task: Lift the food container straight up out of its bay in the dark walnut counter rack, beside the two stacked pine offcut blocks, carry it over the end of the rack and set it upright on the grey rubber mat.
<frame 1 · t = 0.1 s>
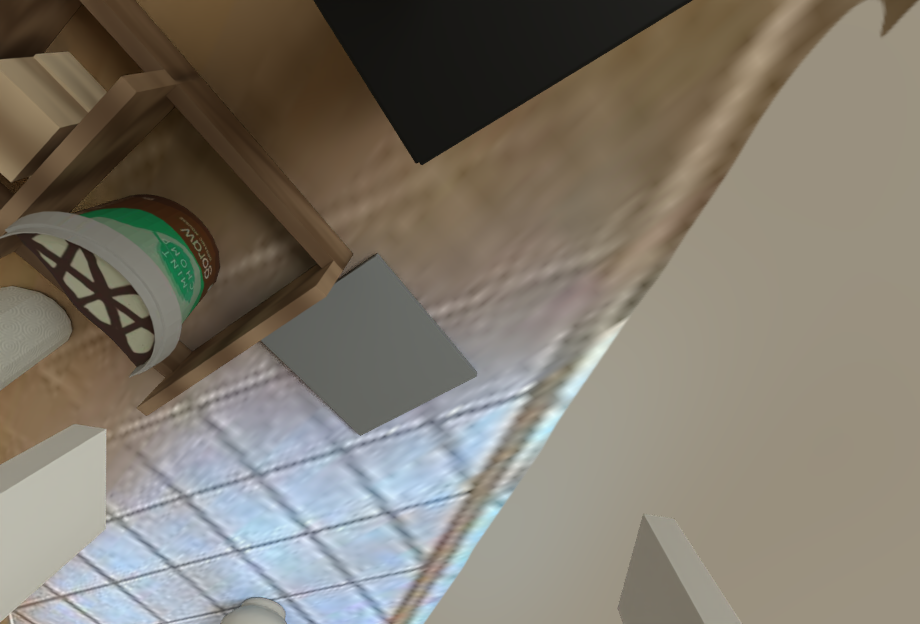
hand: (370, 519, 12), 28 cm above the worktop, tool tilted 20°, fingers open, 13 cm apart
mat: (368, 352, 44), on the worktop
offcut upper: (40, 116, 33), point 3 cm above the worktop, touching offcut lower
flower vase: (259, 607, 69), on the worktop
food container: (191, 236, 40), resting in rack
offcut lower: (69, 115, 36), resting in rack, touching offcut upper
rack: (154, 203, 38), on the worktop
paper towel roll: (37, 309, 45), on the worktop
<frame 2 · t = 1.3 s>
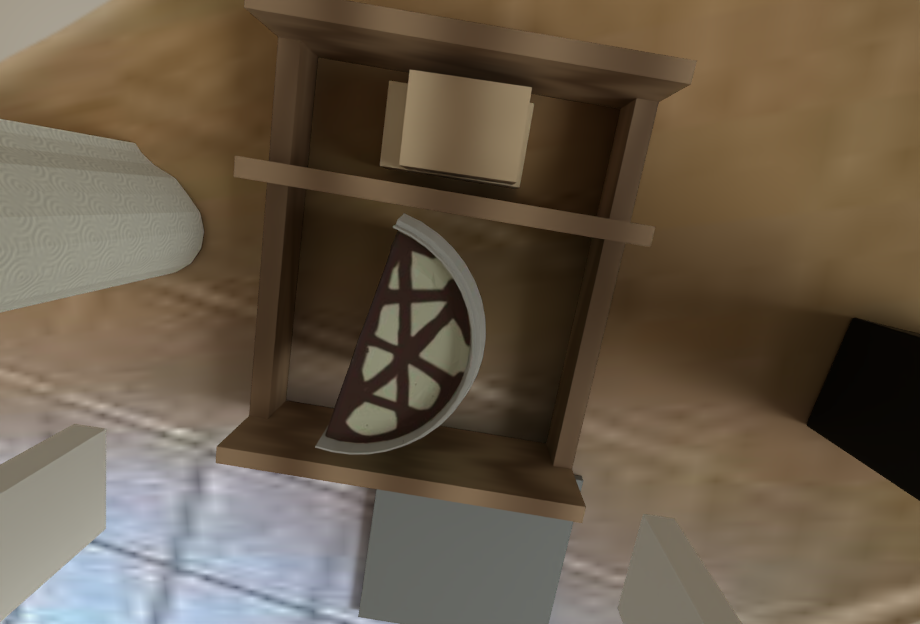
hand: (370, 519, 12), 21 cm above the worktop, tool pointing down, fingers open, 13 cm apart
mat: (466, 545, 36), on the worktop
offcut upper: (465, 135, 27), point 3 cm above the worktop, touching offcut lower
black bar: (880, 384, 33), on the worktop
food container: (433, 316, 33), resting in rack
offcut lower: (457, 141, 30), resting in rack, touching offcut upper
rack: (441, 265, 32), on the worktop
paper towel roll: (165, 218, 32), on the worktop
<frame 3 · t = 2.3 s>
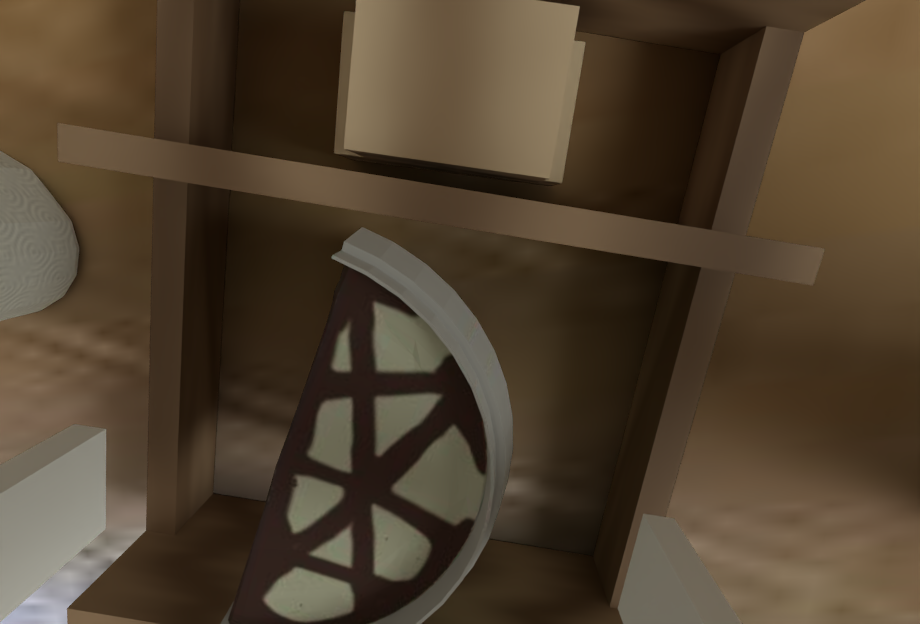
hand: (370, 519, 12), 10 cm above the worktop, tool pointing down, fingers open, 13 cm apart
offcut upper: (460, 101, 17), point 3 cm above the worktop
food container: (426, 374, 22), resting in rack
offcut lower: (459, 115, 20), resting in rack
rack: (437, 299, 21), on the worktop
paper towel roll: (23, 230, 21), on the worktop
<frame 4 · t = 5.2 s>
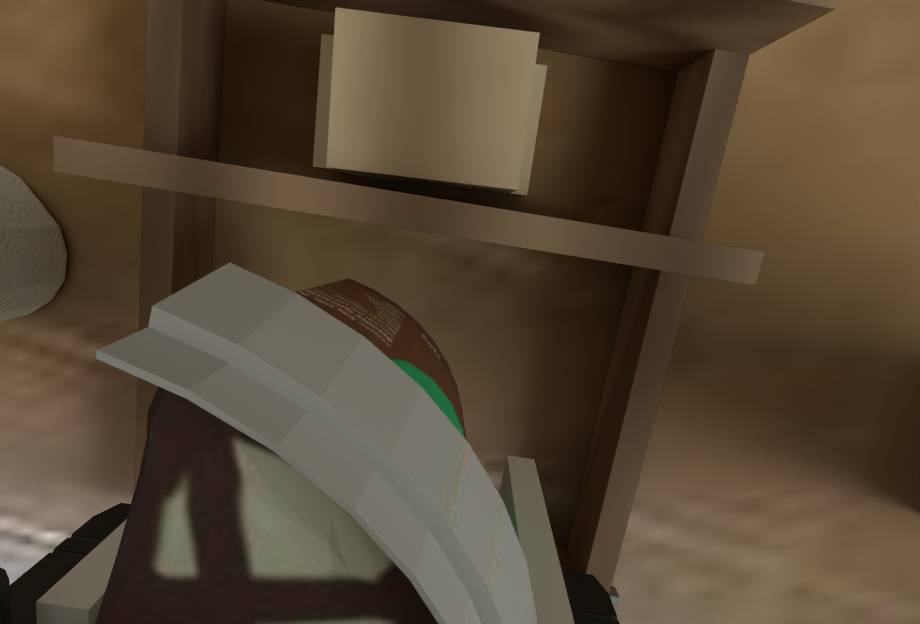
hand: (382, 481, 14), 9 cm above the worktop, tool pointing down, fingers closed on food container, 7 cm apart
offcut upper: (435, 119, 18), point 3 cm above the worktop, touching offcut lower
food container: (397, 450, 15), point 7 cm above the worktop, touching gripper
offcut lower: (432, 129, 21), resting in rack, touching offcut upper
rack: (416, 301, 22), on the worktop
paper towel roll: (11, 236, 22), on the worktop
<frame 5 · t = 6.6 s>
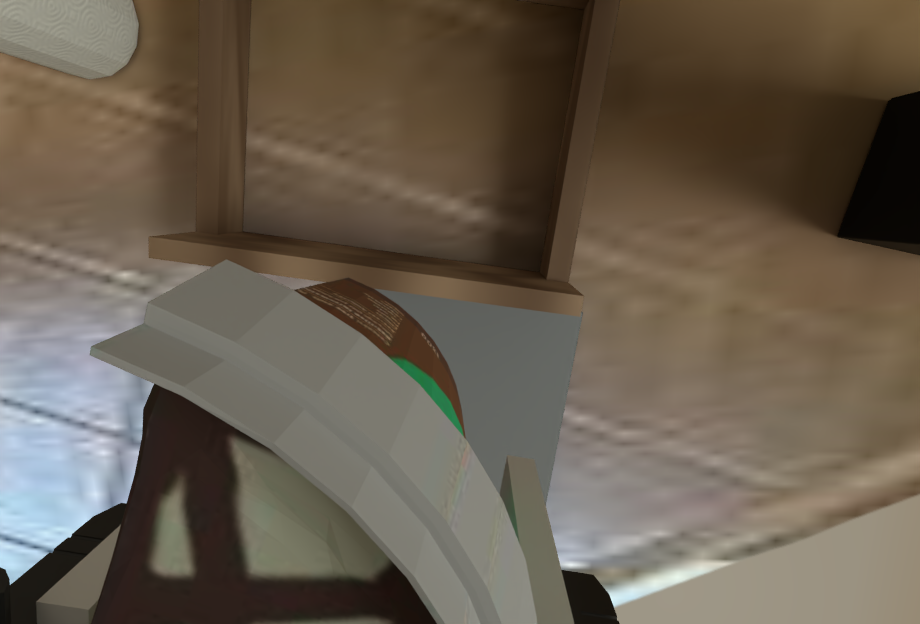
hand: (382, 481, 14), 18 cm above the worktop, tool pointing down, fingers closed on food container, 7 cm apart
mat: (453, 400, 32), on the worktop
food container: (396, 449, 15), point 16 cm above the worktop, touching gripper
rack: (411, 56, 27), on the worktop
paper towel roll: (94, 14, 28), on the worktop
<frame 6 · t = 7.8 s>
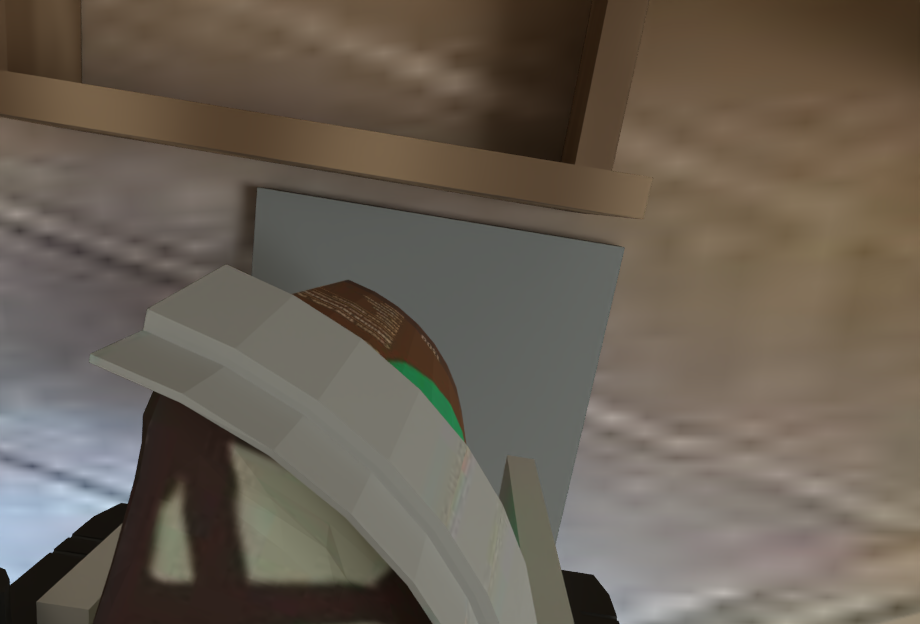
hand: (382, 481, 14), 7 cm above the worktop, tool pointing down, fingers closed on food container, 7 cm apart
mat: (417, 384, 21), on the worktop
food container: (396, 451, 15), point 5 cm above the worktop, touching gripper
when the fingers open (2 cm above the worktop, at t = 9.4 s): food container stays where it is, resting on mat.
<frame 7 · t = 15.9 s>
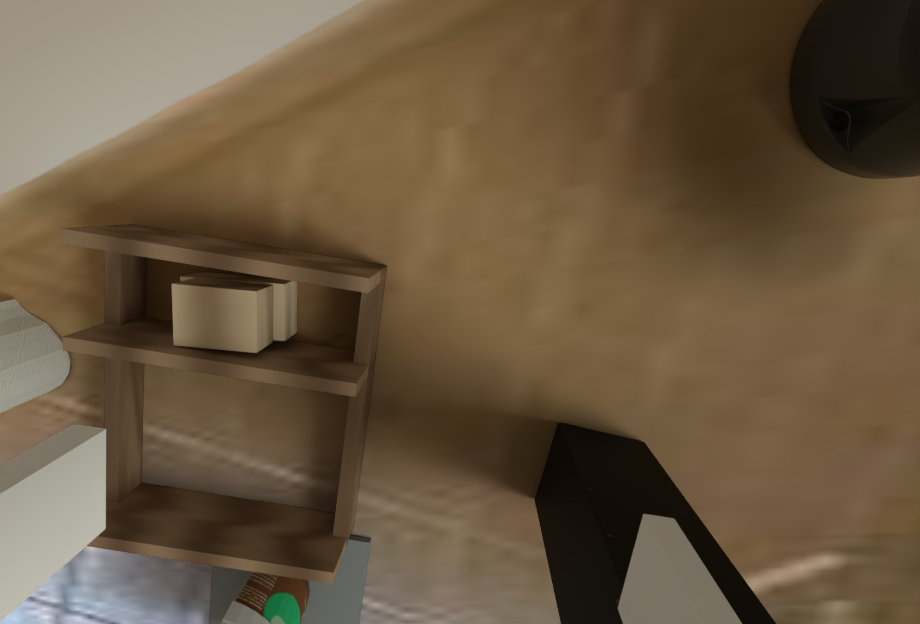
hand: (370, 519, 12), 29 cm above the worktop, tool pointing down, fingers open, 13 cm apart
mat: (288, 591, 46), on the worktop
offcut upper: (234, 310, 38), point 3 cm above the worktop
black bar: (587, 469, 43), on the worktop
food container: (289, 594, 46), resting on mat
offcut lower: (250, 301, 41), resting in rack
rack: (250, 384, 42), on the worktop
paper towel roll: (42, 350, 42), on the worktop
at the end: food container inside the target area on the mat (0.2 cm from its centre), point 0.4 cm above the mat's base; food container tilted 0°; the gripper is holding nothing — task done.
